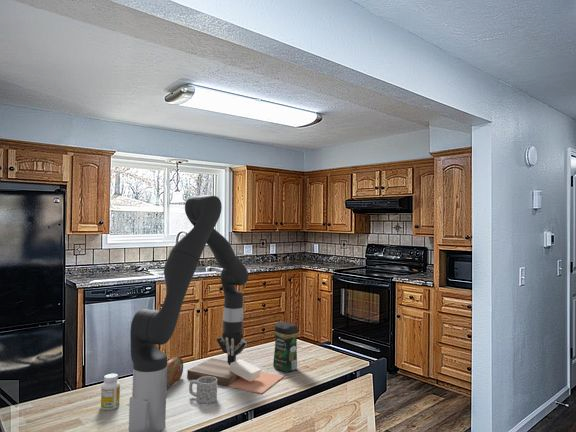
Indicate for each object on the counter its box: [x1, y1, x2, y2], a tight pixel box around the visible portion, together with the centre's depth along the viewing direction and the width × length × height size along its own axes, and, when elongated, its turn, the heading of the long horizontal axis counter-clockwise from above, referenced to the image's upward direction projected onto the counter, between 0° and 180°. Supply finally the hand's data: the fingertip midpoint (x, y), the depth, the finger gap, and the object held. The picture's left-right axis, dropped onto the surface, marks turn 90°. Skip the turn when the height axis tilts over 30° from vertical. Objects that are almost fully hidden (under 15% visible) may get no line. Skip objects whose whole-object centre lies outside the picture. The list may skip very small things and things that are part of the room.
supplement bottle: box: [100, 373, 121, 411], centre depth 134 cm, size 5×5×10 cm
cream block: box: [229, 359, 262, 381], centre depth 159 cm, size 6×10×3 cm, turn 58°
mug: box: [188, 376, 218, 405], centre depth 142 cm, size 10×7×7 cm
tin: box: [166, 356, 184, 389], centre depth 155 cm, size 15×3×8 cm, turn 168°
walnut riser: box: [186, 357, 241, 388], centre depth 164 cm, size 16×18×3 cm
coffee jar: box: [272, 320, 299, 373], centre depth 174 cm, size 10×8×19 cm
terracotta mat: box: [227, 371, 285, 395], centre depth 158 cm, size 18×14×1 cm
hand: (231, 364), depth 162 cm, fingers closed
